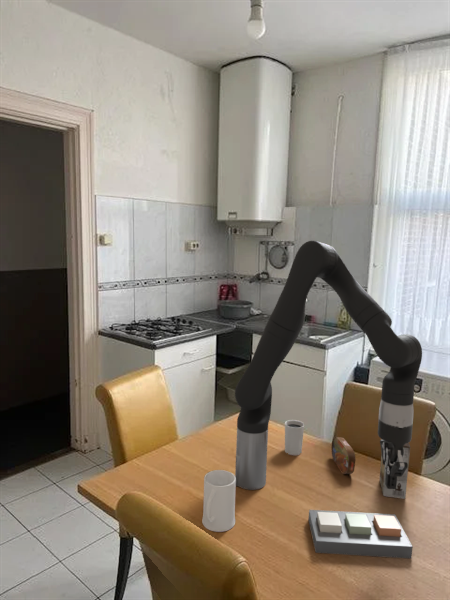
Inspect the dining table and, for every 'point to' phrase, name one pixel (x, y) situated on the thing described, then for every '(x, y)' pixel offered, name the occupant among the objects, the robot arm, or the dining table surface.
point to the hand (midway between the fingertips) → (390, 487)
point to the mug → (219, 500)
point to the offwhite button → (328, 522)
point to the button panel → (359, 539)
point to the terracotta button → (386, 526)
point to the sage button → (357, 524)
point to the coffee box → (401, 481)
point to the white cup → (293, 437)
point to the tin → (343, 455)
